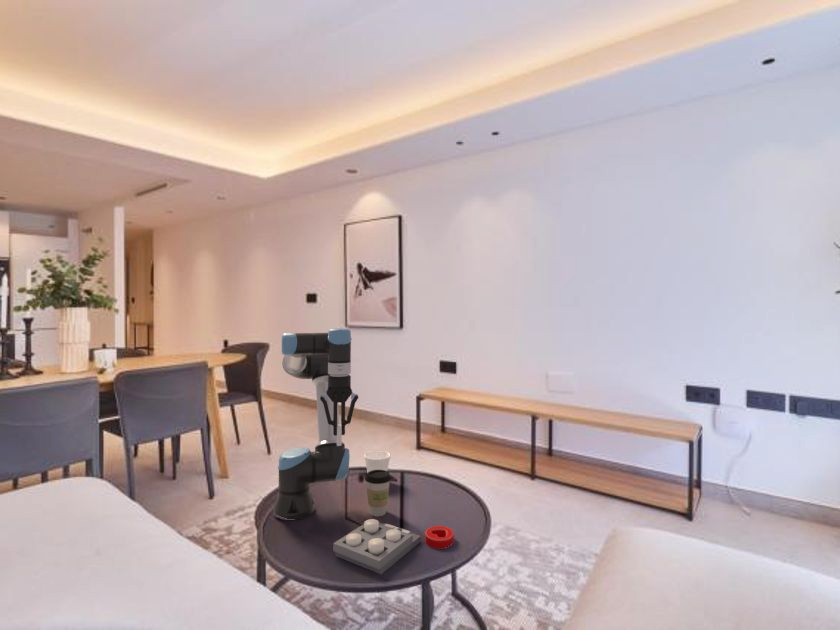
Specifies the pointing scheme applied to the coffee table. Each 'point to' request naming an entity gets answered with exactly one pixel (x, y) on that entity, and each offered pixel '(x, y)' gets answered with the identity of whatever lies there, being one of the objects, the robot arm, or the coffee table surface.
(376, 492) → the coffee cup
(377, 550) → the outer button
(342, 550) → the board
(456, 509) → the coffee table surface
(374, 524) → the inner button
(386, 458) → the cup
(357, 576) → the coffee table surface
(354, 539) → the inner button
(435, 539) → the decorative ornament
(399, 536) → the outer button
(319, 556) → the coffee table surface
